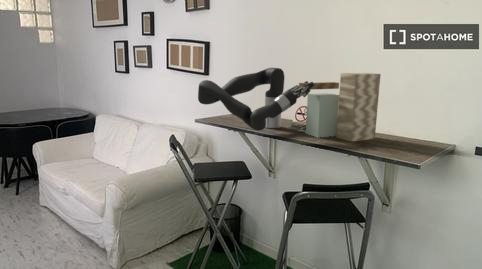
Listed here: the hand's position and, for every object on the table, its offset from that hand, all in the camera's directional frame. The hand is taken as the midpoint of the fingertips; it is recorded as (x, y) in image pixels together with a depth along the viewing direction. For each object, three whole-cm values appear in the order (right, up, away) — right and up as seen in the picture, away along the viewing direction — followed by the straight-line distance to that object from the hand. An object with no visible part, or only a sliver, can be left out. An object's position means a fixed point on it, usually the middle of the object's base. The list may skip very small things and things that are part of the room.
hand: (310, 83), depth 186 cm
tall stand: (+23, -27, +3) cm, 36 cm away
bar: (+5, -2, +3) cm, 6 cm away
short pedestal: (+7, -26, +9) cm, 28 cm away
